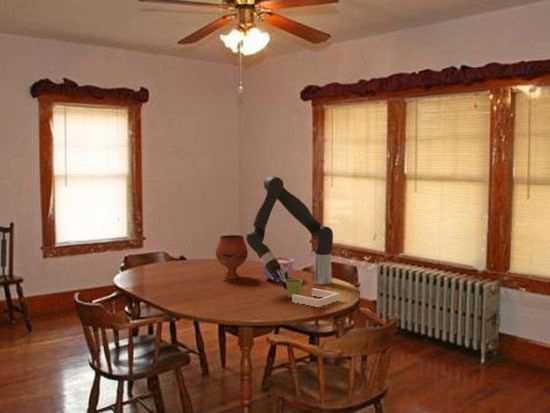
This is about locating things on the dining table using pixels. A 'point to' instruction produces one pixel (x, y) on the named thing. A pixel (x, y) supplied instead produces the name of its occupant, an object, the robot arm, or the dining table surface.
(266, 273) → the bowl of food
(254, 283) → the dining table surface
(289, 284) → the plant pot
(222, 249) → the goblet
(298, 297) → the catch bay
